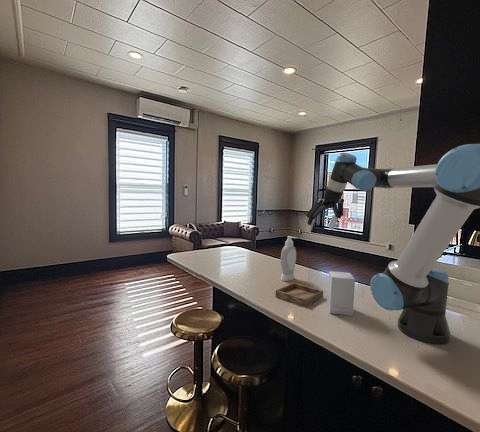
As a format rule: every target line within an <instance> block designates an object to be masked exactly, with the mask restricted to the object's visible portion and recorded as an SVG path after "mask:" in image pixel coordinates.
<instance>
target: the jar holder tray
mask: <svg viewBox="0 0 480 432" xmlns="http://www.w3.org/2000/svg"><path fill="white" fill-rule="evenodd" d="M275 297H276V298H278V299H282V300H283V301H287V302H291V303H292V304H296V305H299V306H301V307H304V308H306V307H308V306H310V305H312V304H314V303H315V302H318V301H319V300H321V299H322V298H323V297H324V290H321V289H317V288H314V287H311V286H306V285H303V284H300V283H297V282H293V283H290V284H288V285H284V286H283V287H281V288H277V289H276V290H275Z"/></svg>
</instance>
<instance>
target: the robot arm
mask: <svg viewBox="0 0 480 432" xmlns="http://www.w3.org/2000/svg"><path fill="white" fill-rule="evenodd" d="M357 160H358V158H357V157H356V156H355V155H354V154H351V153H346V152H340V153H338V155H337V157H336V159H335V161H334V165H333V168H332V170H331V174H330V176H329V180H328V182H327V185H326V187H325V190H324V193H323V194H324V195H323V196H324V197H323V198H320V197H318V198H317V199H316V201H315V203H314V204H313V205H312V207H311V208H310V209H309V210H308V211H307V212H306V214H305V215H306V217H307V218H308V219H307V221H306V222H307V225H306V228H305V230H307V231H308V233H312V229H313V227H314V224H315V222H316V220H315V218H317V217H318V216H319V215H320V214H321V213H322V212H323V211H326V209H332V212H333V214H334V215H332V217H331V219H330V221H329V224H328V228H330V229H331V231H333V230H334V229H335V226H336V224H337V222H338V220H339V219H341V218H342V217H343V216H344V202H345V199H344V198H343V194H344V191H345V190H346V187H347V184H348V183H349V184H350V185H351V186H353V187H354V188H355V189H357V190H360V191H362V192H366V191H369V190H371V189H372V188H374V189H375V188H376V189H394V188H396V189H397V188H433V190H434V192H435V195H436V196H435V199H434V200H433V201H432V202H431V204H430V206H429V208H428V209H427V211H426V213H425V215H424V216H423V217H422V219H421V220H420V223H419V224H418V226H417V228H416V229H415V231H414V232H413V234H412V235H411V238H410V239H409V241H407V244H406V246H405V247H404V249H403V250H402V252H401V254H400V255H399V257H398V259H397V260H392V261H391V262H390V261H389V263H388V265H387V266H386V268H385V270H384V272H382V273H379V272H378V273H377V274H375V275H373V276H372V277H371V280H370V288H369V289H370V291H371V295H372V298H373V299H374V301H375V302H376V303H377V304H378V305H379V307H381V308H383V309H384V310H386V311H402V312H401V313H400V314H399V316H398V320H397V328H398V329H399V331H400V332H402V333H403V334H405V335H406V336H409V337H411V338H413V339H414V340H418V341H422V342H425V343H427V344H429V343H430V344H439V345H441V344H447V343H449V342H450V341H451V330H450V327H449V323H448V320H447V317H446V312H447V311H446V310H447V300H448V292H449V285H450V282H449V274H448V273H447V272H446V271H444V270H440V269H438V268H434V266H435V265H436V263H437V262H438V260H439V259H440V258H441V257H442V255H443V253H444V252H445V251H446V250H447V248H448V247H449V245H450V244H451V242H452V241H453V240H454V238H455V236H456V235H457V234H458V232H459V231H460V229H462V227H463V226H464V224H465V222H466V221H467V219H468V218H469V217H470V215H471V214H472V213H473V211H474V210H476V209H480V143H468V144H467V143H466V144H462V145H459V146H456V147H454V148H452V149H451V150H449V151H447V152H446V153H445V154H444V155H443V156H442V157H441V158H440V159H439V161H438V162H437V164H435V163H434V164H425V165H424V164H423V165H415V166H414V165H413V166H405V167H394V168H372V167H371V168H370V167H362V166H361V165H358V164H357Z"/></svg>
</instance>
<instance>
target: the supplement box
mask: <svg viewBox="0 0 480 432" xmlns="http://www.w3.org/2000/svg"><path fill="white" fill-rule="evenodd" d="M327 279H328V282H327V283H328V284H327V285H328V286H327V298H326V300H327V301H326V305H327V308H328V312H329V314H335V315H343V316H351V317H352V316H353V315H354V300H355V299H354V298H355V286H356V278H355V277H354V276H353V275H352V274H351V273H350V272H343V271H342V272H341V271H328V278H327Z"/></svg>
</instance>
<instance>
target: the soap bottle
mask: <svg viewBox="0 0 480 432" xmlns="http://www.w3.org/2000/svg"><path fill="white" fill-rule="evenodd" d="M292 239H298V238H297V237H295V236H291V235H288V236H287V239H286V241H284V242H285V243H284V246H283V247H282V249H281V253H280V254H281V255H280V267H281V272H282V273H281V277H280V281H281V282H290V281H293V280H295V273H294V272H295V267H296V261H297V249H296V247H295V246H294V241H293V240H292Z"/></svg>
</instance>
